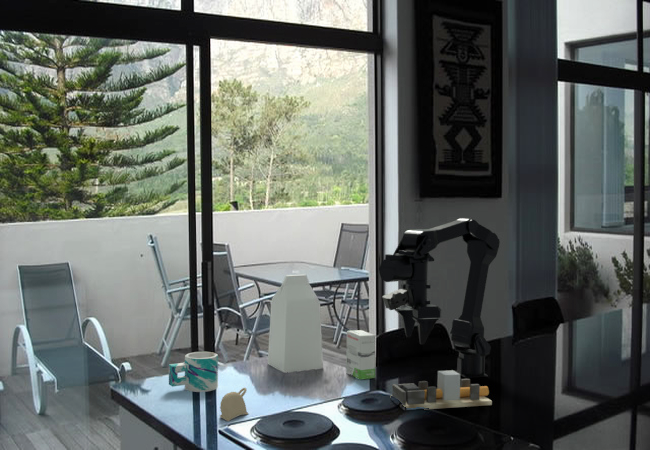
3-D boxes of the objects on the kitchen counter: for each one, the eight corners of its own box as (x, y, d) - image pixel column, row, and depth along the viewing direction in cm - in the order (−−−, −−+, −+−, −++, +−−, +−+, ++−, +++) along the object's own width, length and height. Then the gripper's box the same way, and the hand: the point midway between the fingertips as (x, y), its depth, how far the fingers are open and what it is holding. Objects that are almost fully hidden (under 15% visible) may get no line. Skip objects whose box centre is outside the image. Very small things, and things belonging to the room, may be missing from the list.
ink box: (375, 378, 196) (376, 334, 196) (359, 380, 194) (360, 336, 194) (361, 371, 204) (361, 329, 204) (345, 372, 202) (345, 330, 201)
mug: (222, 389, 183) (222, 356, 183) (176, 396, 177) (176, 361, 177) (209, 381, 190) (209, 350, 190) (164, 388, 184) (164, 355, 184)
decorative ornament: (214, 418, 160) (214, 394, 160) (241, 409, 167) (241, 386, 167) (227, 422, 158) (227, 397, 158) (254, 413, 164) (254, 389, 164)
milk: (284, 372, 201) (285, 278, 200) (267, 363, 211) (268, 273, 210) (323, 368, 206) (324, 276, 205) (305, 360, 217) (306, 272, 215)
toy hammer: (482, 393, 179) (483, 368, 179) (490, 397, 176) (491, 372, 175) (402, 398, 174) (402, 373, 174) (408, 402, 170) (408, 377, 170)
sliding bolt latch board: (474, 394, 182) (474, 376, 181) (491, 404, 173) (492, 386, 173) (390, 399, 176) (390, 381, 176) (404, 410, 167) (404, 391, 167)
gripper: (374, 276, 194) (373, 334, 194) (399, 284, 176) (398, 349, 176) (413, 275, 197) (412, 333, 197) (442, 284, 179) (441, 347, 179)
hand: (415, 340), depth 187 cm, fingers open, 9 cm apart
